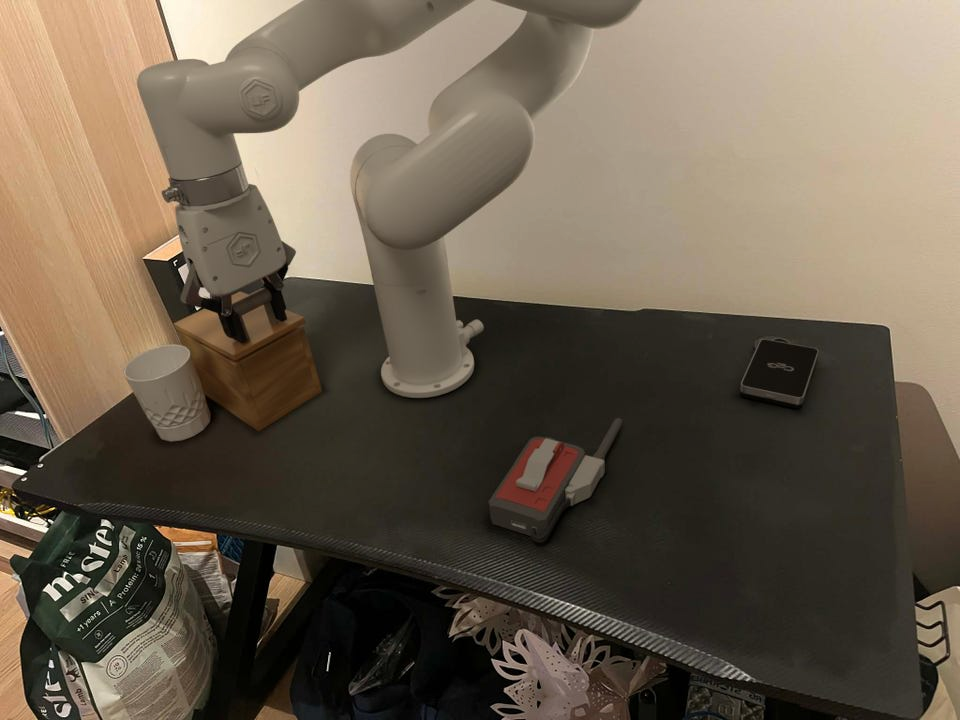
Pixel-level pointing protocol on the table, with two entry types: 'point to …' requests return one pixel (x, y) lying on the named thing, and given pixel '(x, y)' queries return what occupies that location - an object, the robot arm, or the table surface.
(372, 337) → the table surface
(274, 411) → the box
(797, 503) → the table surface
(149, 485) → the table surface
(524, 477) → the walkie-talkie
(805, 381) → the external hard drive
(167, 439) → the white cup
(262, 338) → the caddy lid
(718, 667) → the table surface
